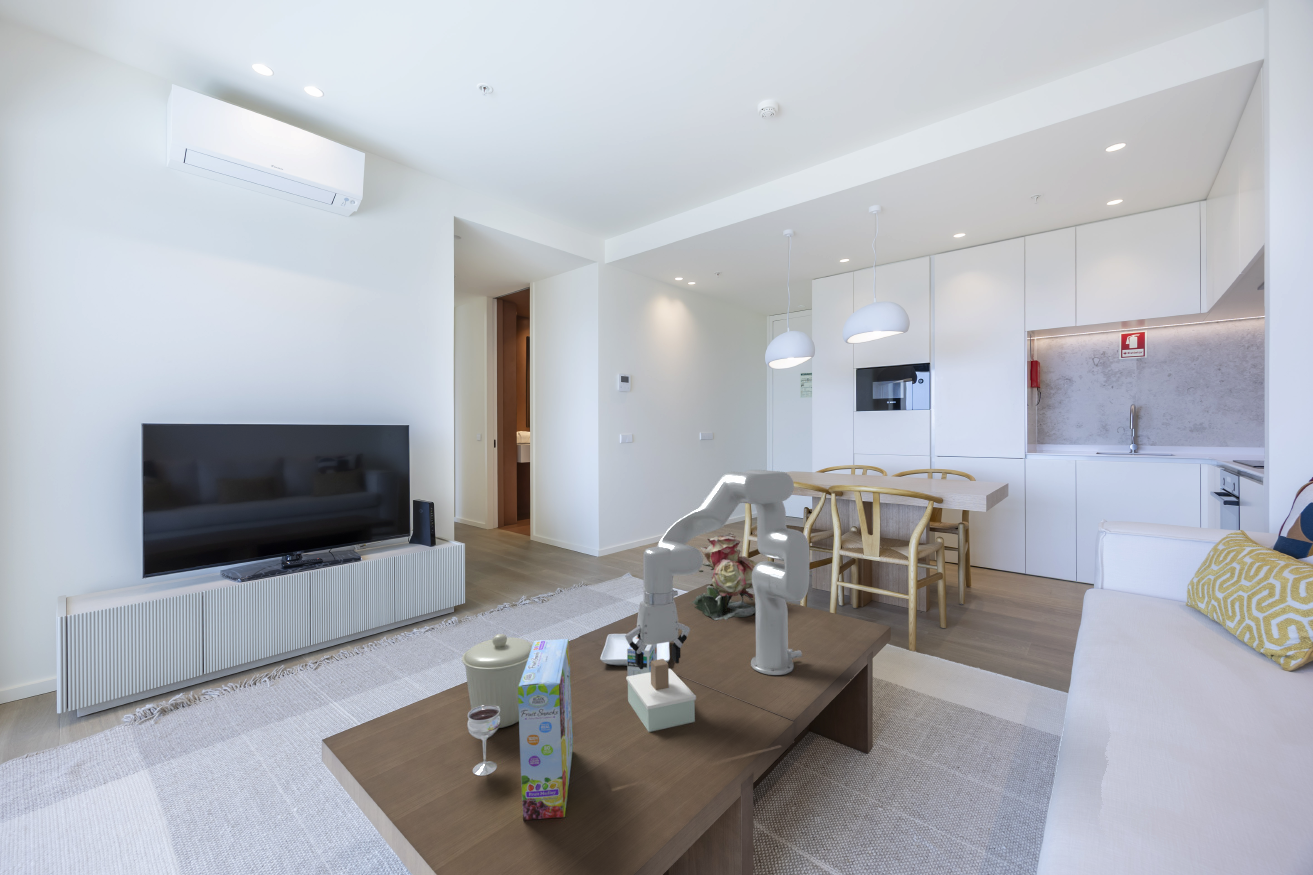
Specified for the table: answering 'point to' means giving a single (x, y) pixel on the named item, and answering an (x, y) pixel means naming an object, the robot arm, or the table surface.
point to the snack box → (545, 730)
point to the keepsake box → (662, 713)
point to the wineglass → (484, 732)
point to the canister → (497, 674)
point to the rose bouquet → (726, 579)
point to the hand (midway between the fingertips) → (658, 664)
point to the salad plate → (618, 650)
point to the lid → (660, 686)
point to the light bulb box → (648, 656)
